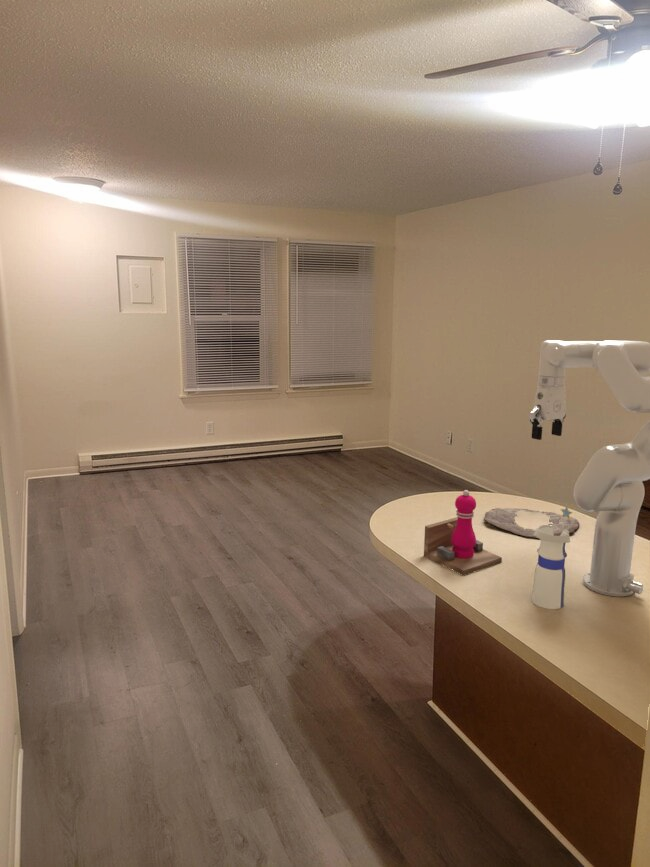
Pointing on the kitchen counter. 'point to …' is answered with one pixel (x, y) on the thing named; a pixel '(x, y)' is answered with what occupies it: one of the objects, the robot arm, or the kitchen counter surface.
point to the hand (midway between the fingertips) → (546, 437)
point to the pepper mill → (464, 527)
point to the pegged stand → (441, 551)
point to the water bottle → (550, 567)
